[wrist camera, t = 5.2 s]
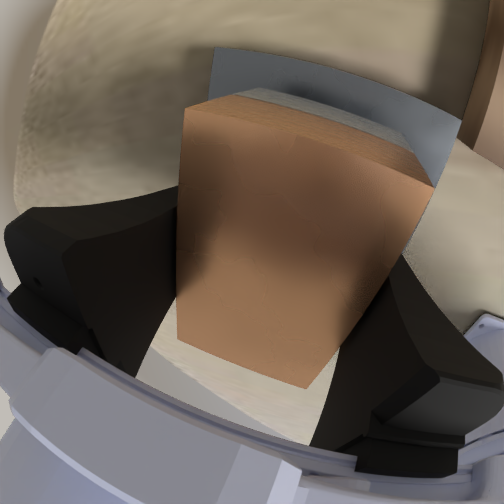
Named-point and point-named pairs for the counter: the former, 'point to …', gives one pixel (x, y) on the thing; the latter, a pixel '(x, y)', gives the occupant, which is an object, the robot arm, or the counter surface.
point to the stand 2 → (488, 94)
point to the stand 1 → (341, 99)
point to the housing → (287, 227)
